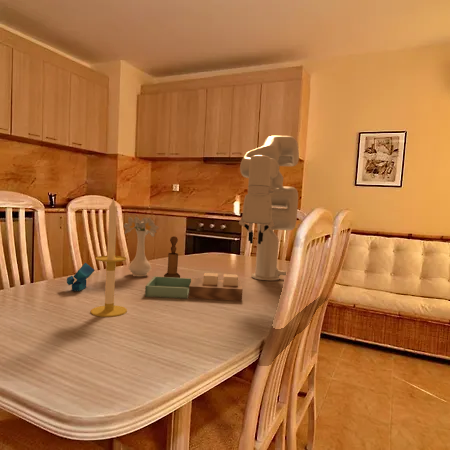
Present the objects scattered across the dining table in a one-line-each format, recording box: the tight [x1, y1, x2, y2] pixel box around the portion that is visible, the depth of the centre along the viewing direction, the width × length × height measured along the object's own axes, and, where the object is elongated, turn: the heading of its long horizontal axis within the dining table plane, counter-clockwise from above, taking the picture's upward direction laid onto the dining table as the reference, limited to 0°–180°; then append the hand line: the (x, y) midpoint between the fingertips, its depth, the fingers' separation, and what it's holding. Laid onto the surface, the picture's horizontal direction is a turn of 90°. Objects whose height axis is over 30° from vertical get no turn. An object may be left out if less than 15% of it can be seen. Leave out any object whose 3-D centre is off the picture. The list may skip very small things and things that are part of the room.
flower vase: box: [123, 216, 160, 278], centre depth 155 cm, size 13×18×25 cm
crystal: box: [66, 262, 95, 292], centre depth 127 cm, size 7×9×12 cm
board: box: [188, 277, 244, 302], centre depth 131 cm, size 18×14×4 cm
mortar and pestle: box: [163, 236, 181, 278], centre depth 148 cm, size 7×6×18 cm
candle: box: [90, 197, 128, 318], centre depth 103 cm, size 10×10×32 cm
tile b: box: [203, 272, 219, 285], centre depth 130 cm, size 5×5×3 cm
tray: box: [144, 276, 192, 299], centre depth 130 cm, size 14×16×4 cm
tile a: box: [222, 273, 239, 286], centre depth 130 cm, size 5×5×3 cm
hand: (255, 243), depth 130 cm, fingers closed
